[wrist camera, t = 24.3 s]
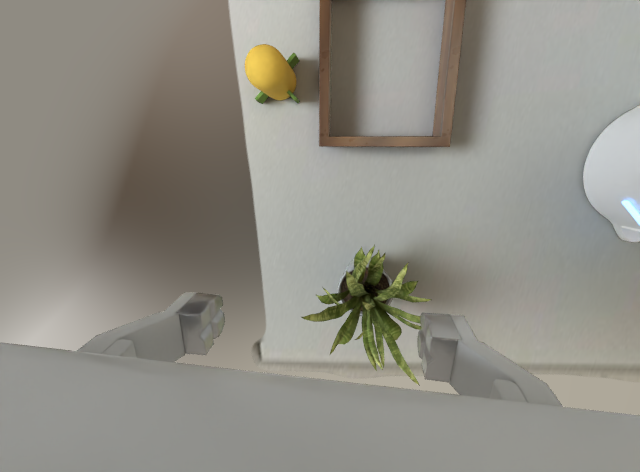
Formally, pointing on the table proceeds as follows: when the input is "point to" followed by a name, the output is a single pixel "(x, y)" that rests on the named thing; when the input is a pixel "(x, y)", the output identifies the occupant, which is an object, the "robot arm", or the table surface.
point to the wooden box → (444, 88)
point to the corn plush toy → (271, 73)
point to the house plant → (371, 307)
